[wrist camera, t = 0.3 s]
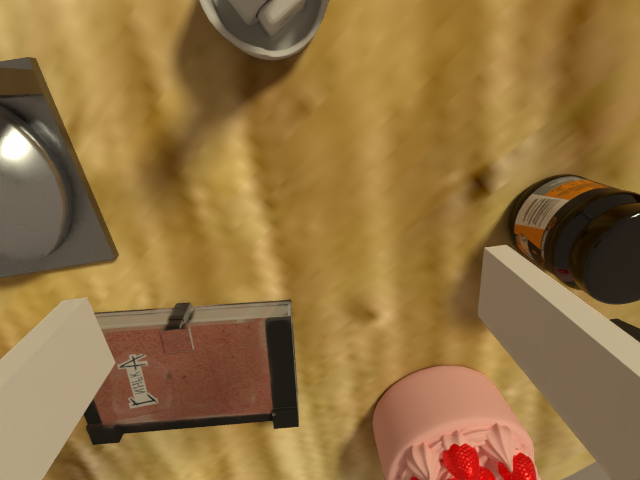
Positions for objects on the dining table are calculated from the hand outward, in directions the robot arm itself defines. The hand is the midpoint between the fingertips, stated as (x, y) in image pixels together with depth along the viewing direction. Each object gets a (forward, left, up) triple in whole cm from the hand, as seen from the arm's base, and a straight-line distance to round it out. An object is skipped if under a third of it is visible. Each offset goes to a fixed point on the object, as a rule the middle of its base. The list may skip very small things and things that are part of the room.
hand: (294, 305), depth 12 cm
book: (+24, -17, -28) cm, 40 cm away
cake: (+42, +15, -28) cm, 52 cm away
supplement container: (+12, +29, -28) cm, 42 cm away
